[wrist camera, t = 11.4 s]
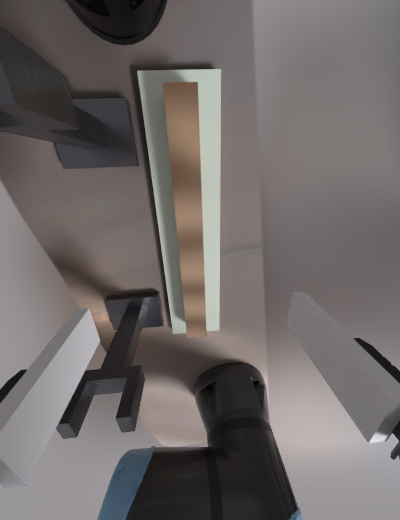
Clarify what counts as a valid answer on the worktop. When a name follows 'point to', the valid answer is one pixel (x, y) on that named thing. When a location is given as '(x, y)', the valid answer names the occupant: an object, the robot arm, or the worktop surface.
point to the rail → (187, 197)
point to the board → (163, 185)
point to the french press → (121, 19)
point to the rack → (74, 156)
